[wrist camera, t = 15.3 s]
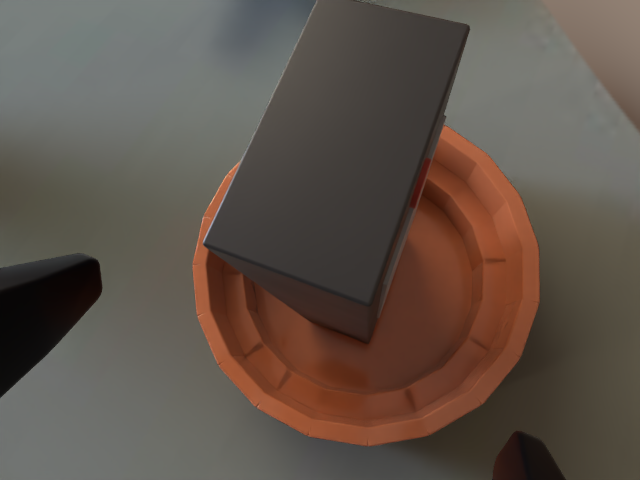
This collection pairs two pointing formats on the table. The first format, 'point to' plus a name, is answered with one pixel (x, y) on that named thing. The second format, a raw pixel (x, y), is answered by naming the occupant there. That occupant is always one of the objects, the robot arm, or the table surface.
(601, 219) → the table surface
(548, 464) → the robot arm
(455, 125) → the table surface
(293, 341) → the bowl
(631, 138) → the table surface
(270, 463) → the table surface
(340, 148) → the remote
